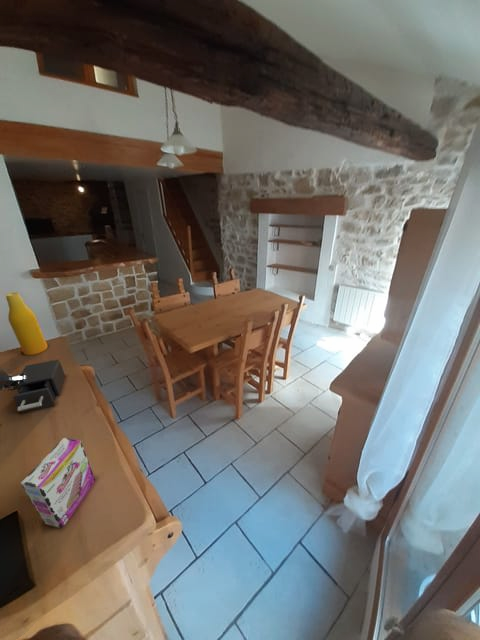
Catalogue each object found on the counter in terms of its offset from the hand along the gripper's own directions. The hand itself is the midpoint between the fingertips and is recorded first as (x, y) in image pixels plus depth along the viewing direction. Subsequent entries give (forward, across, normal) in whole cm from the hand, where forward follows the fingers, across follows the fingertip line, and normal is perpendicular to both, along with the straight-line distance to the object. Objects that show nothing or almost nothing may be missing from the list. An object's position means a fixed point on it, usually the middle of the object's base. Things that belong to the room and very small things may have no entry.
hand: (15, 386), depth 75 cm
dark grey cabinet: (+23, 0, 0) cm, 23 cm away
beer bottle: (+47, +11, -24) cm, 54 cm away
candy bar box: (-10, -15, +34) cm, 38 cm away
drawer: (+17, 0, +5) cm, 18 cm away
